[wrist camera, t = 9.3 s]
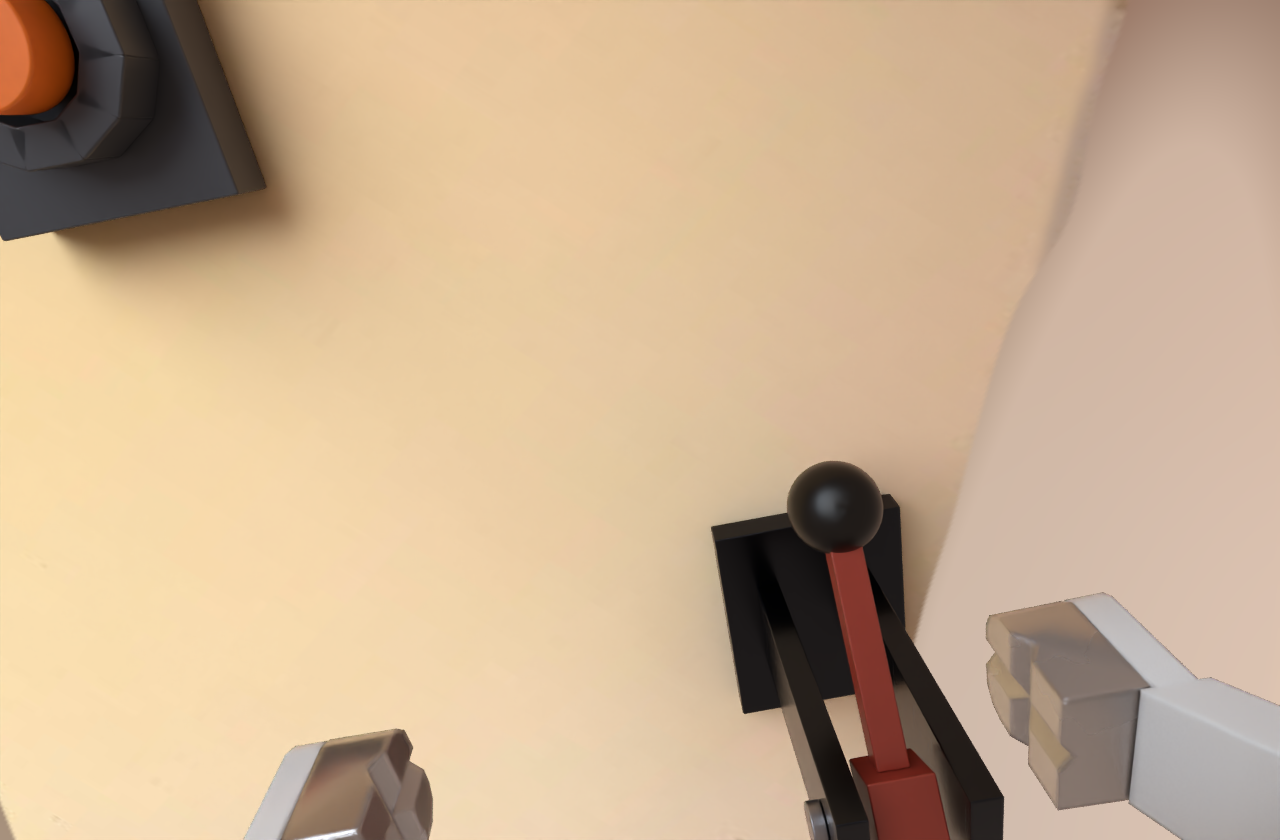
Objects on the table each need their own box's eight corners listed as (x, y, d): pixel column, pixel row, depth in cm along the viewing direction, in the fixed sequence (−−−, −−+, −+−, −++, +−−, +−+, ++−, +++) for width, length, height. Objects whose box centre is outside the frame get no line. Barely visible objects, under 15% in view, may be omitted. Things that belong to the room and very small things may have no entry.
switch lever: (772, 472, 27) (786, 467, 24) (858, 456, 27) (883, 449, 24) (848, 839, 25) (873, 888, 22) (940, 824, 25) (978, 870, 22)
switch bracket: (710, 526, 32) (775, 767, 20) (889, 493, 32) (1060, 717, 20) (739, 696, 36) (807, 980, 24) (898, 667, 36) (1045, 940, 24)
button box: (-118, -102, 22) (-263, -146, 18) (139, -157, 22) (44, -212, 18) (49, 231, 26) (-43, 251, 22) (267, 188, 26) (211, 201, 22)
